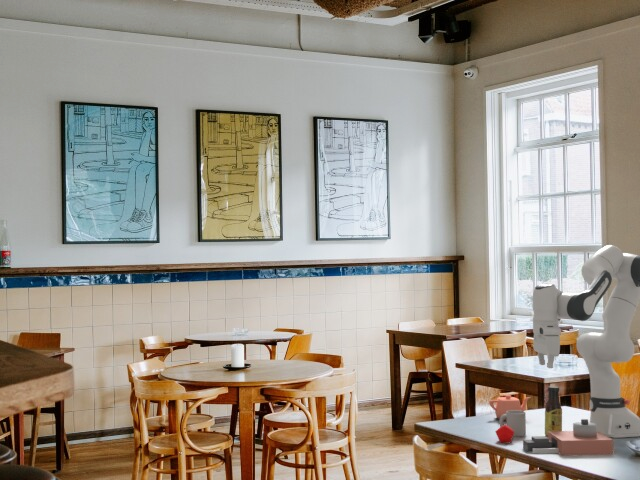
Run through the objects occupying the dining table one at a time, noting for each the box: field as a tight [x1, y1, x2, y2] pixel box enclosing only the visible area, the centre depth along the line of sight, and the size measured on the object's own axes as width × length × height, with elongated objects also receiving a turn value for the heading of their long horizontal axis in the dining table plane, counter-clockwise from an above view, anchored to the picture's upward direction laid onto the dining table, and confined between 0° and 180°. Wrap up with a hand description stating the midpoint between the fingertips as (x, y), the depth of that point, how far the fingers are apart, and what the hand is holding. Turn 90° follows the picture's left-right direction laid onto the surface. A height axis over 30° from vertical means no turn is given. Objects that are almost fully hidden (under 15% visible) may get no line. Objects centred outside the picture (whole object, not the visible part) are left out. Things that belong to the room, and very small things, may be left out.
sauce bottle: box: [544, 385, 563, 438], centre depth 310 cm, size 6×6×20 cm
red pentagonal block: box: [495, 424, 514, 444], centre depth 307 cm, size 7×7×8 cm
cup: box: [498, 410, 527, 438], centre depth 319 cm, size 7×10×9 cm
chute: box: [522, 435, 552, 453], centre depth 292 cm, size 9×5×5 cm, turn 94°
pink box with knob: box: [532, 418, 614, 456], centre depth 292 cm, size 27×16×11 cm, turn 92°
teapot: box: [488, 394, 532, 422], centre depth 351 cm, size 12×18×10 cm, turn 90°
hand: (546, 366), depth 298 cm, fingers open, 8 cm apart
